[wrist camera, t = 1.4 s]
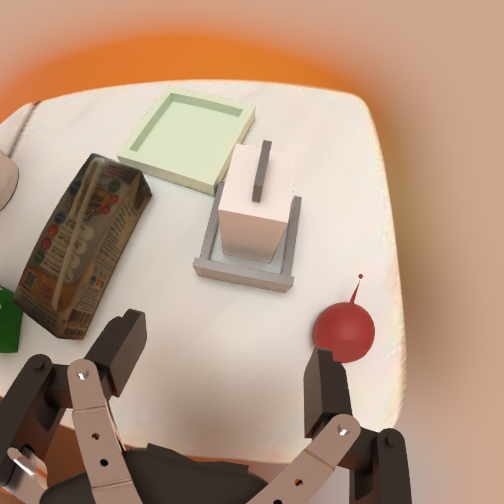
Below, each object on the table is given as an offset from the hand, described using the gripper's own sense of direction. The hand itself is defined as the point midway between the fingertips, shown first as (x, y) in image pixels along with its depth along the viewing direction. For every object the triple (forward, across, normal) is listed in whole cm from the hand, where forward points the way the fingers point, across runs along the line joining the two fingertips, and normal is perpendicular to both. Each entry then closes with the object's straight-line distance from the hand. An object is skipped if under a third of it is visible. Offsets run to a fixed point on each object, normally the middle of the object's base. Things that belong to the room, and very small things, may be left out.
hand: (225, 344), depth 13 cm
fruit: (+14, -10, +9) cm, 20 cm away
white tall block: (+20, 0, +3) cm, 20 cm away
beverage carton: (+16, +18, +7) cm, 25 cm away
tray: (+27, +10, -5) cm, 30 cm away
